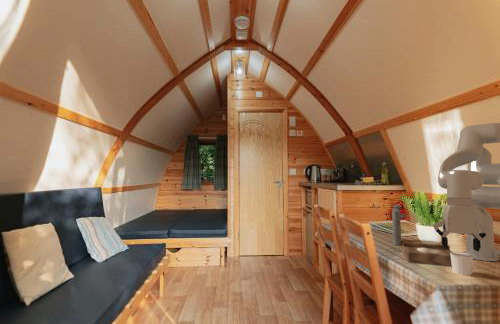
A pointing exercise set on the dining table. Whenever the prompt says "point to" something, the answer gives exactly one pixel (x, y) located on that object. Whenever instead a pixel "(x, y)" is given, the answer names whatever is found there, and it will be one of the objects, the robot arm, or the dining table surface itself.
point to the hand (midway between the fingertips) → (460, 249)
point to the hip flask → (396, 225)
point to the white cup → (461, 263)
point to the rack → (427, 254)
